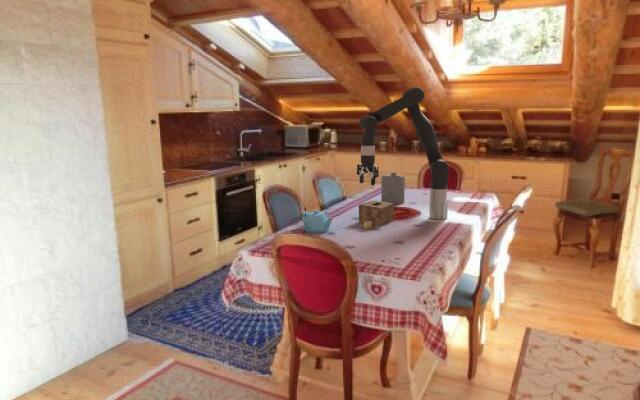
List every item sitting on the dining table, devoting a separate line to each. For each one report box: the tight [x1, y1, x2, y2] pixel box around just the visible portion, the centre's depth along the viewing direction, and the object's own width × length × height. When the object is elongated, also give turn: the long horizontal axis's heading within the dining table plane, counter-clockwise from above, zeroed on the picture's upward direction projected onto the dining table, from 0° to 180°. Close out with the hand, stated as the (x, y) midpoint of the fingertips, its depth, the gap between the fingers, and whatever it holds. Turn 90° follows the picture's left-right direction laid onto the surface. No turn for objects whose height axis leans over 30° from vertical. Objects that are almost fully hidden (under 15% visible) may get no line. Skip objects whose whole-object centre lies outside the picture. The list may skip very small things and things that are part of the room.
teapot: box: [301, 209, 333, 234], centre depth 252 cm, size 15×15×11 cm
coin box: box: [358, 199, 395, 227], centre depth 267 cm, size 14×14×10 cm
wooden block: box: [362, 220, 373, 231], centre depth 253 cm, size 2×5×4 cm, turn 141°
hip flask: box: [380, 171, 406, 205], centre depth 314 cm, size 16×4×20 cm, turn 60°
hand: (367, 184), depth 258 cm, fingers open, 8 cm apart
